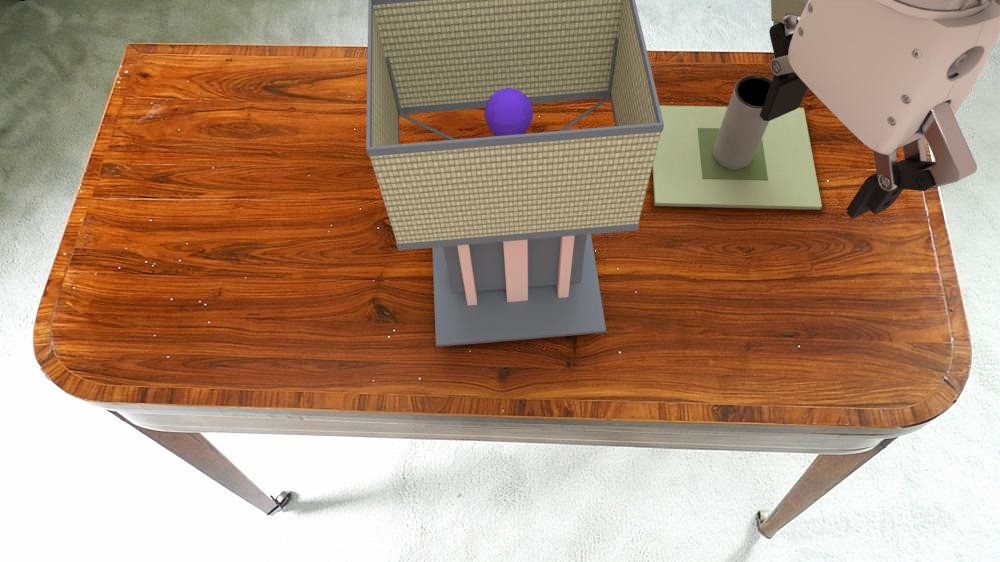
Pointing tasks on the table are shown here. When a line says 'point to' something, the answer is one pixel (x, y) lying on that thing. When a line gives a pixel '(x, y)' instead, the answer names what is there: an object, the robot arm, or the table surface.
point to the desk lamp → (511, 154)
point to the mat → (705, 183)
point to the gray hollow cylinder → (742, 123)
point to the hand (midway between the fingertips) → (820, 158)
